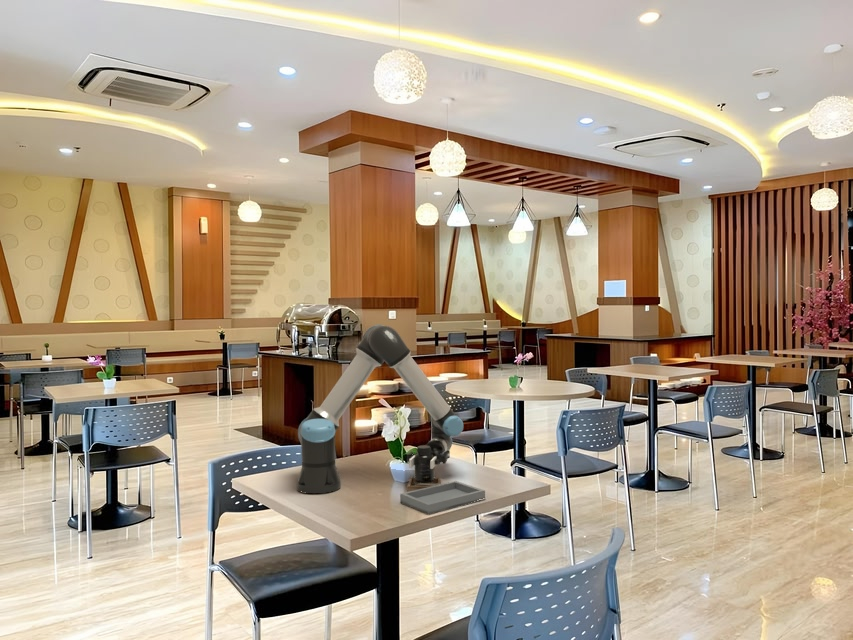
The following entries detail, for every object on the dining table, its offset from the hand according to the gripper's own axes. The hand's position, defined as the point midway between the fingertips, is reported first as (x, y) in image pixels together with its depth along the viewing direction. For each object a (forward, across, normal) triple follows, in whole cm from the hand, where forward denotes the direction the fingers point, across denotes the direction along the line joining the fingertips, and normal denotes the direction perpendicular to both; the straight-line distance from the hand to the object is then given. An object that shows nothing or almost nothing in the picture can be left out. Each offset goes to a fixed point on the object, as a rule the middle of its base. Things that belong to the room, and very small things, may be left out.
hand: (420, 464), depth 211 cm
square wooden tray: (-5, 0, -9) cm, 10 cm away
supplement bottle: (-5, 0, -7) cm, 9 cm away
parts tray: (+10, -10, -9) cm, 16 cm away
